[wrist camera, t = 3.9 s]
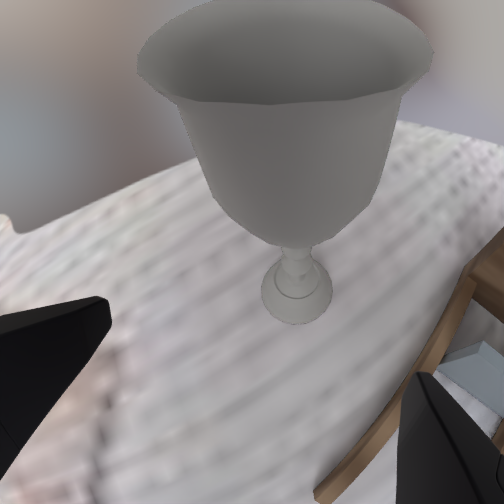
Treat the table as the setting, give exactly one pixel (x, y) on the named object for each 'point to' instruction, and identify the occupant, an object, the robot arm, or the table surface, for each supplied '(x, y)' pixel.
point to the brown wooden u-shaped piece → (428, 363)
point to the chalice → (289, 118)
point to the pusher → (477, 373)
